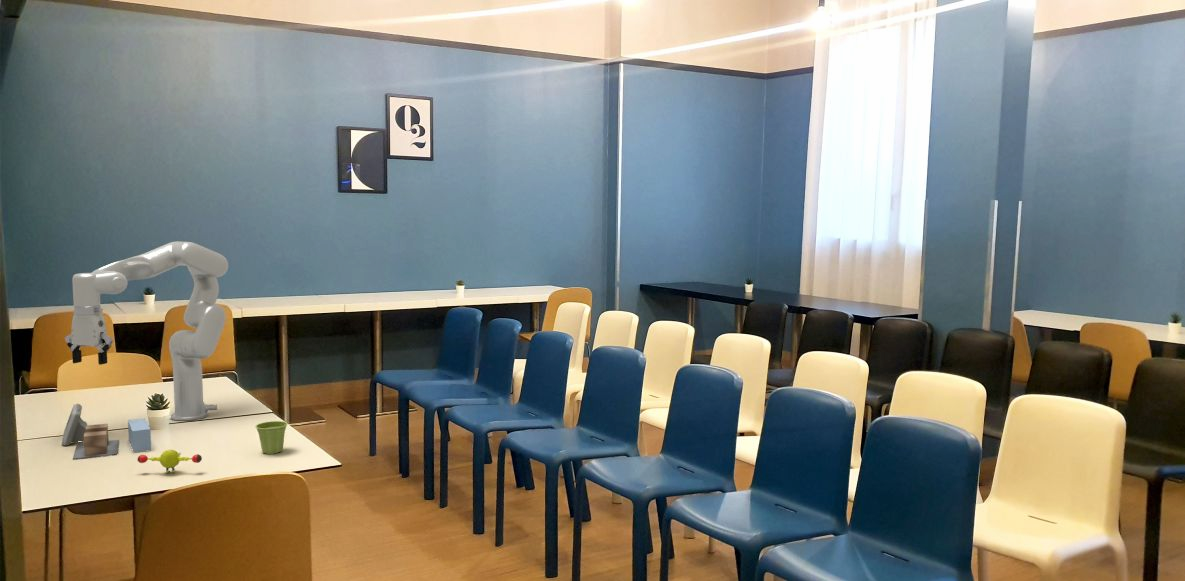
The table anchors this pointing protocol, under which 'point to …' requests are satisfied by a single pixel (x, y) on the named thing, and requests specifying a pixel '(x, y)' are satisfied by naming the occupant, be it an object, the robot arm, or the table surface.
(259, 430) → the plant pot
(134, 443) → the lintel
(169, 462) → the toy figure
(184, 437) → the table surface
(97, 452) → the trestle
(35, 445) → the table surface
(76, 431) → the digital clock
